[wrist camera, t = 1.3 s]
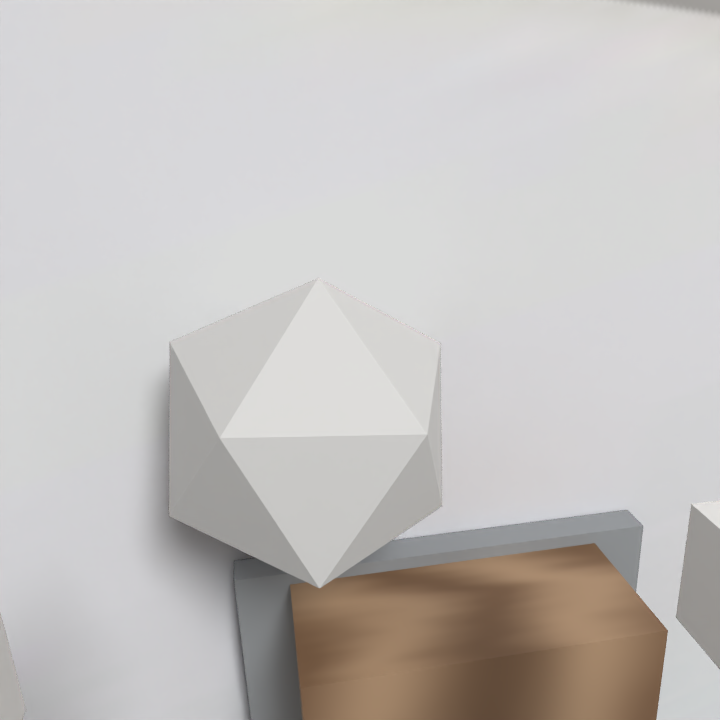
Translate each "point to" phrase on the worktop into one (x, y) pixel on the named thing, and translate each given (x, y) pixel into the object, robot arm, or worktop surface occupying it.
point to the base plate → (272, 586)
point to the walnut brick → (480, 642)
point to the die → (305, 430)
